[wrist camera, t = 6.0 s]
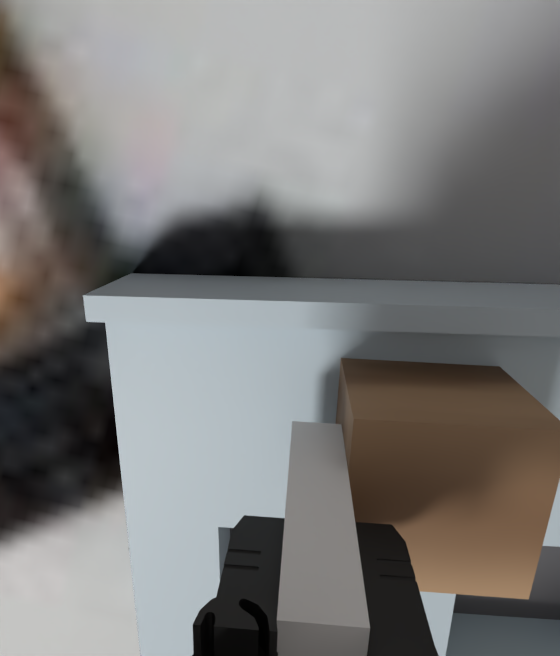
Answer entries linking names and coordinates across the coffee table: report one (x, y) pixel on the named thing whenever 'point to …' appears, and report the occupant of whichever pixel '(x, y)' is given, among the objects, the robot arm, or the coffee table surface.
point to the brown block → (452, 469)
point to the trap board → (294, 405)
